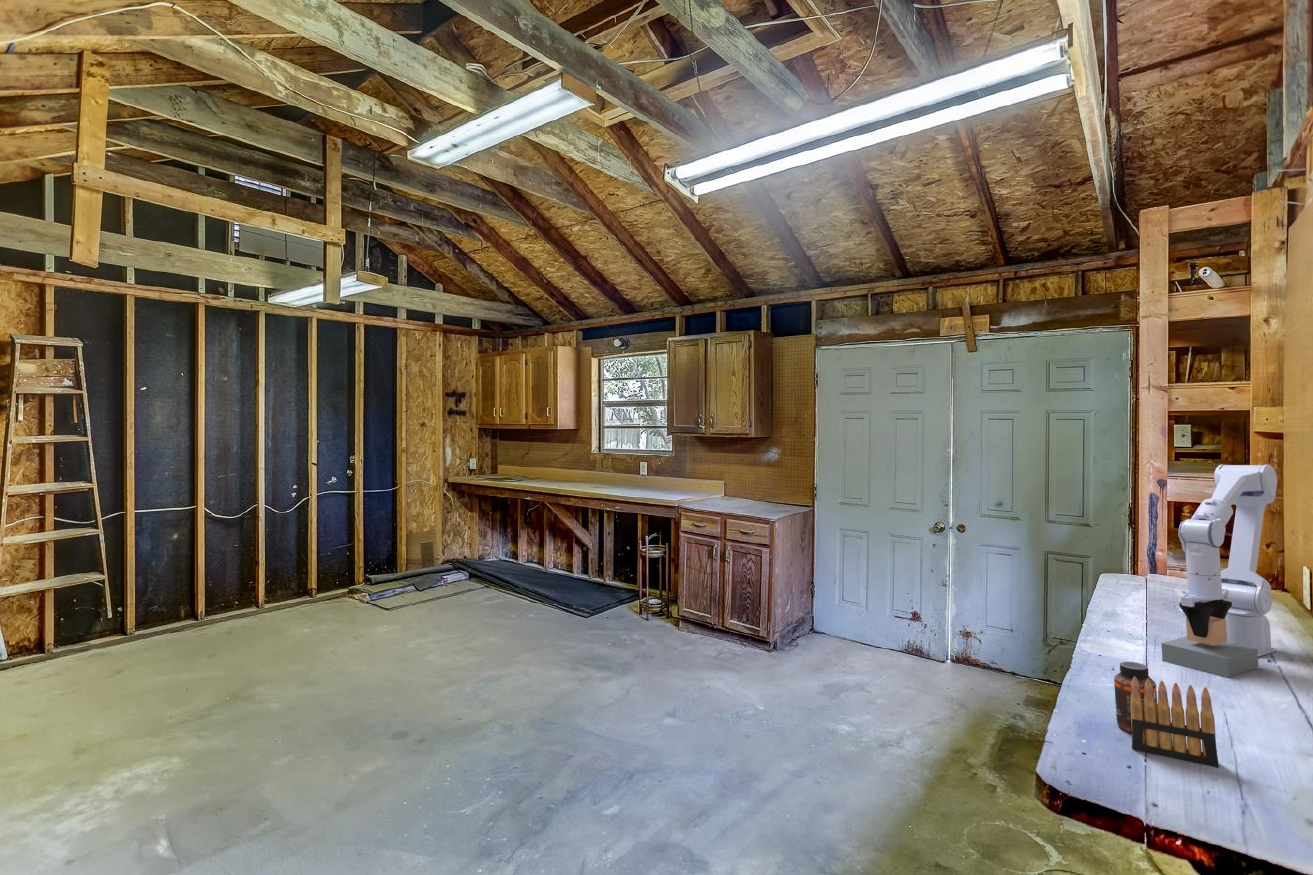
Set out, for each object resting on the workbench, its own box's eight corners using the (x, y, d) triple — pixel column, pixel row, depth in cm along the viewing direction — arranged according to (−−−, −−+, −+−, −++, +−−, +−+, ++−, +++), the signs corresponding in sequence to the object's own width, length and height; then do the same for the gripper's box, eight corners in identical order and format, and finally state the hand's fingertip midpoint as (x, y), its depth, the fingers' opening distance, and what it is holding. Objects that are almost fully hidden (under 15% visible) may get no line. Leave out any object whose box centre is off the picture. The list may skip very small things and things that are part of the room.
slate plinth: (1192, 651, 144) (1191, 634, 144) (1258, 667, 133) (1257, 649, 133) (1162, 660, 140) (1161, 643, 140) (1228, 677, 129) (1226, 658, 129)
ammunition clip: (1132, 749, 102) (1127, 677, 102) (1132, 745, 103) (1127, 673, 103) (1219, 768, 95) (1214, 690, 95) (1217, 763, 96) (1212, 686, 97)
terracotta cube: (1200, 636, 140) (1198, 614, 140) (1227, 642, 135) (1225, 619, 135) (1187, 639, 138) (1185, 617, 138) (1214, 645, 133) (1213, 622, 133)
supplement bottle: (1167, 738, 105) (1163, 671, 105) (1128, 736, 106) (1124, 670, 106) (1147, 722, 111) (1143, 659, 111) (1110, 721, 112) (1106, 658, 112)
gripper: (1200, 566, 143) (1204, 625, 143) (1163, 574, 138) (1167, 634, 137) (1238, 571, 137) (1242, 632, 137) (1201, 579, 131) (1205, 643, 131)
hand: (1207, 634), depth 137 cm, fingers closed on terracotta cube, 5 cm apart
